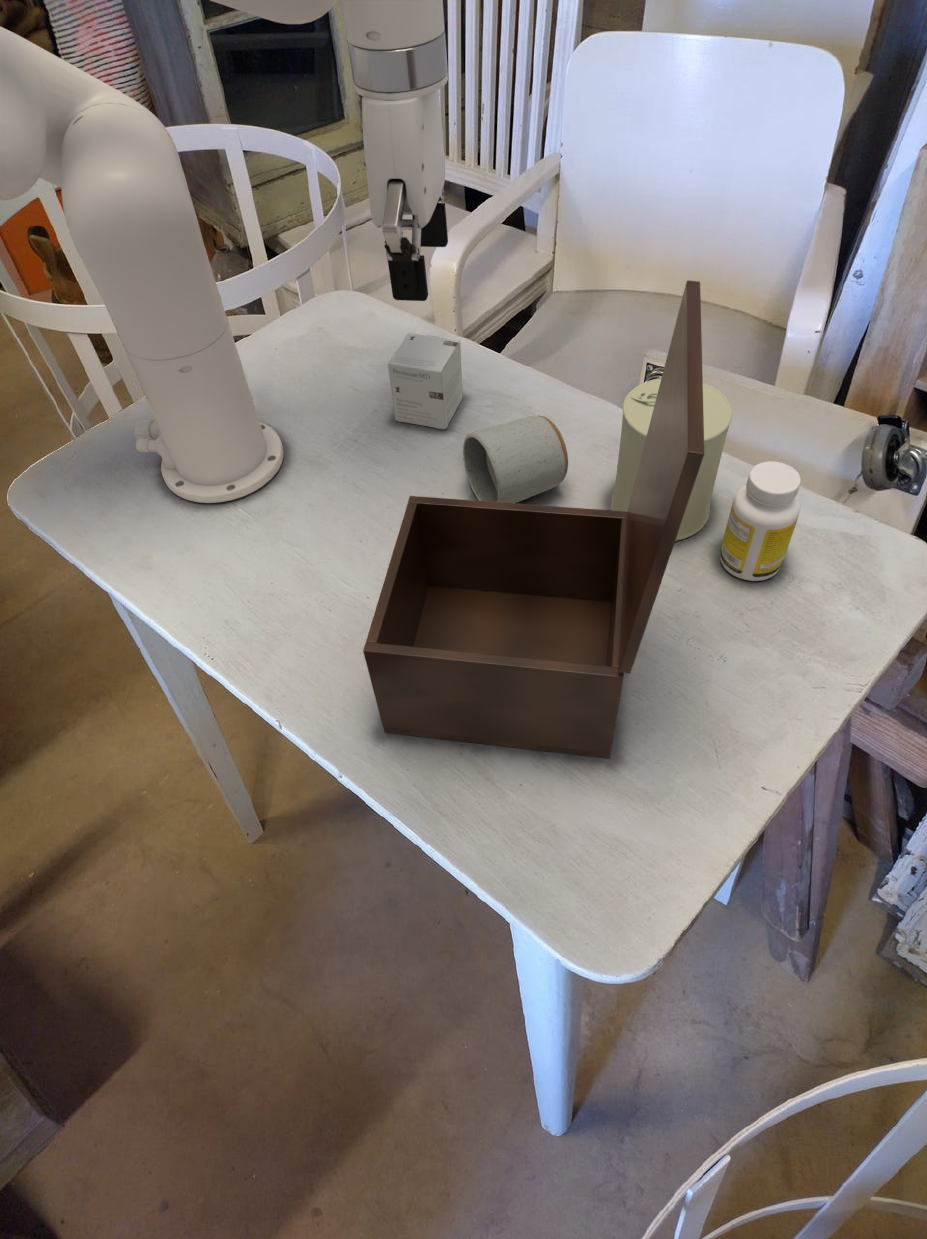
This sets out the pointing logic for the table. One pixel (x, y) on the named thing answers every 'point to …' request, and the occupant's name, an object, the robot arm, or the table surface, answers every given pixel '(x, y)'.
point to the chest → (502, 625)
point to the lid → (664, 475)
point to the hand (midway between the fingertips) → (421, 271)
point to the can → (633, 440)
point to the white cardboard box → (426, 380)
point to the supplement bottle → (761, 522)
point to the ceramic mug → (515, 459)
